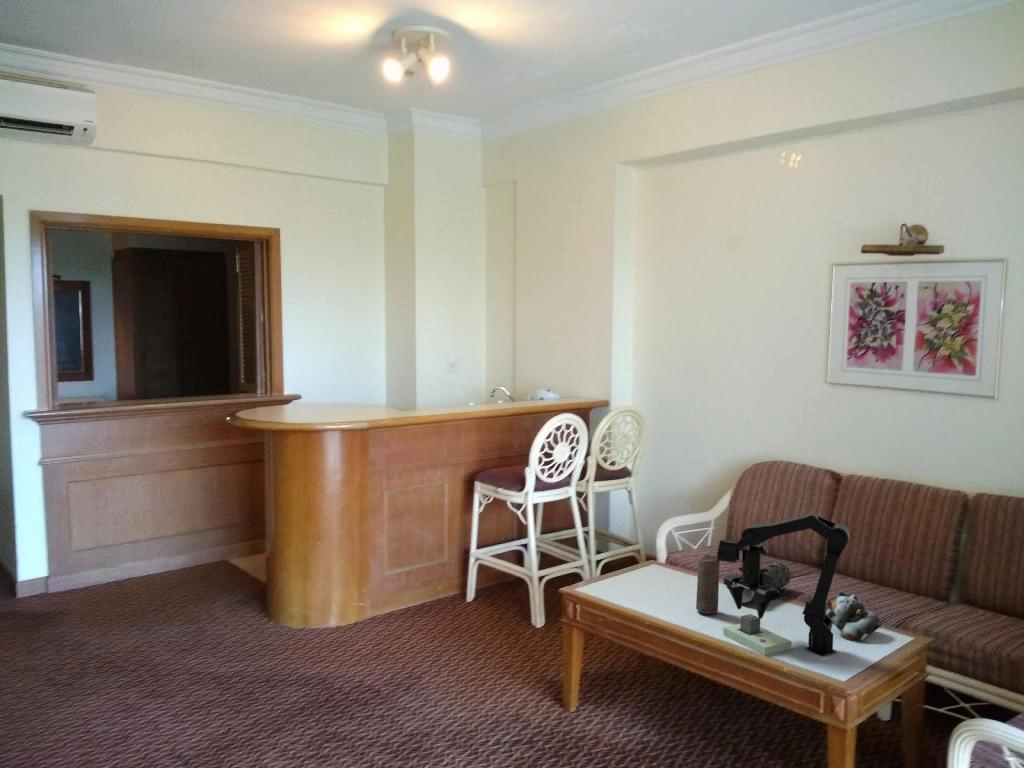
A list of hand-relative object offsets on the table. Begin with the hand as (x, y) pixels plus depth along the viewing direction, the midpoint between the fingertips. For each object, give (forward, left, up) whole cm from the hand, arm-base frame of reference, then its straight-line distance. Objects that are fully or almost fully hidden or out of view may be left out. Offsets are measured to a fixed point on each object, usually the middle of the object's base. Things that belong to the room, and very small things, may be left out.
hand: (749, 613), depth 253 cm
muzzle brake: (+28, -33, -8) cm, 44 cm away
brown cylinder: (+24, -4, -8) cm, 25 cm away
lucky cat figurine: (-12, -33, -8) cm, 36 cm away
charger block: (0, 0, -8) cm, 8 cm away
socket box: (-3, 0, -8) cm, 9 cm away
